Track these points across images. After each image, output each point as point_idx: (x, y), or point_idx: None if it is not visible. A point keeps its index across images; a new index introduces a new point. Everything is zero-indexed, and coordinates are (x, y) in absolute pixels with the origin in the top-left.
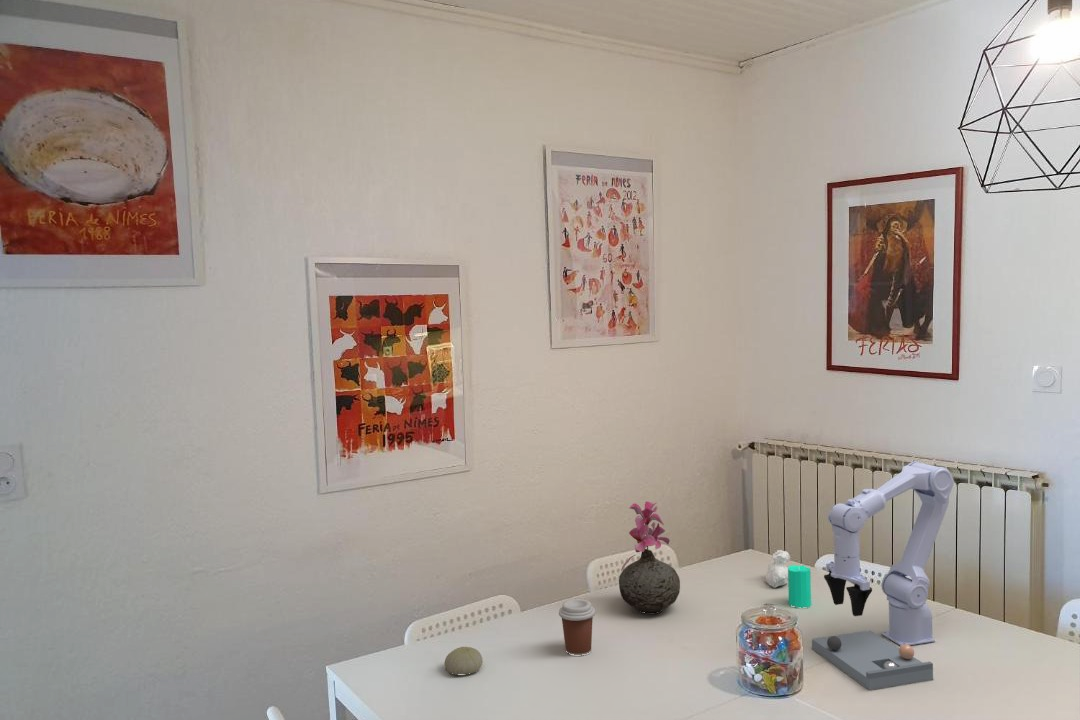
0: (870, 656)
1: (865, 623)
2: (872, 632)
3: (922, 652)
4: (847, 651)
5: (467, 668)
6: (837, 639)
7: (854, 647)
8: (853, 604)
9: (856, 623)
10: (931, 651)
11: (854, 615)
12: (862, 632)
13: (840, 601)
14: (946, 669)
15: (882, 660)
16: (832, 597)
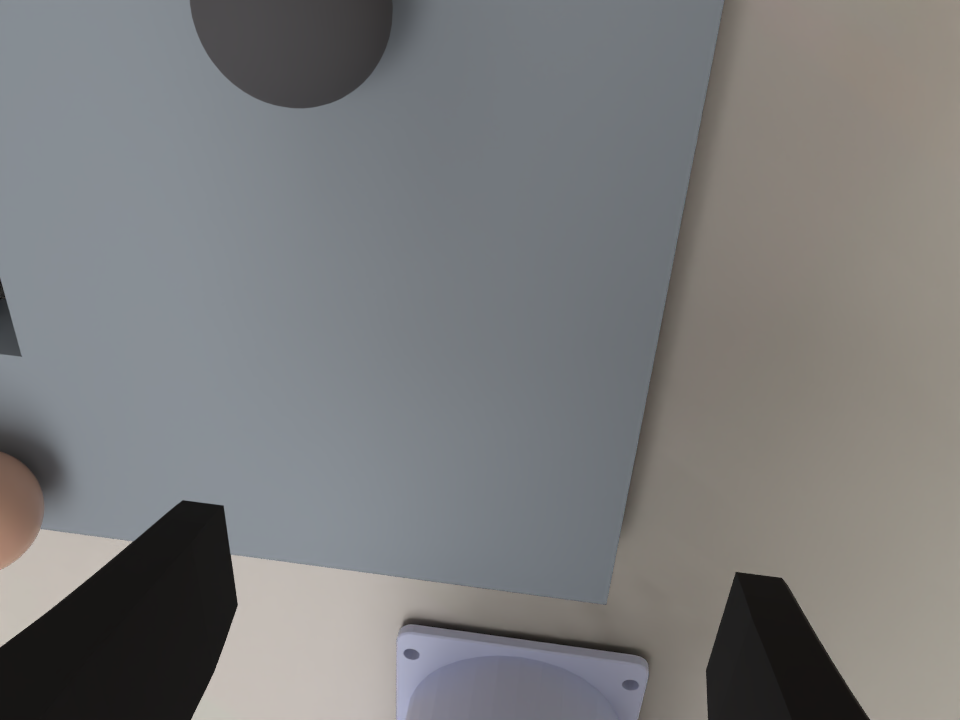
0: (82, 246)
1: (879, 699)
2: (557, 593)
3: (293, 655)
4: (242, 112)
5: None
6: (209, 33)
7: (316, 250)
8: (5, 647)
9: (926, 658)
10: (292, 697)
11: (177, 507)
12: (595, 533)
13: (718, 680)
14: (37, 599)
15: (14, 294)
16: (825, 664)
